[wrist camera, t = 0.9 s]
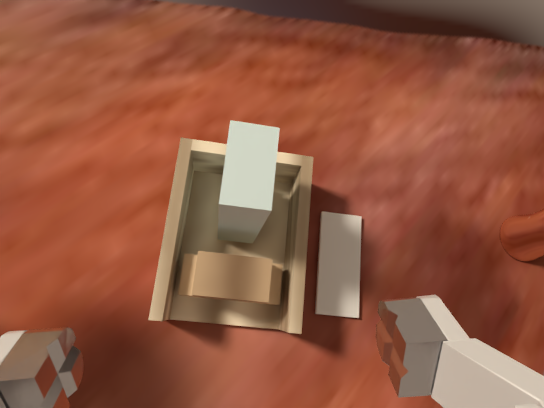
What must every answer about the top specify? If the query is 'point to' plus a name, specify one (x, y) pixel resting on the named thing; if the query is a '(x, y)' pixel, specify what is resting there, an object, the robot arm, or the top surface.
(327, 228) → the felt pad
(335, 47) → the top surface
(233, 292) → the offcut short
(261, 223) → the pale green block
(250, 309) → the tray
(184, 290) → the block
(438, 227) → the top surface
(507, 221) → the beer glass
